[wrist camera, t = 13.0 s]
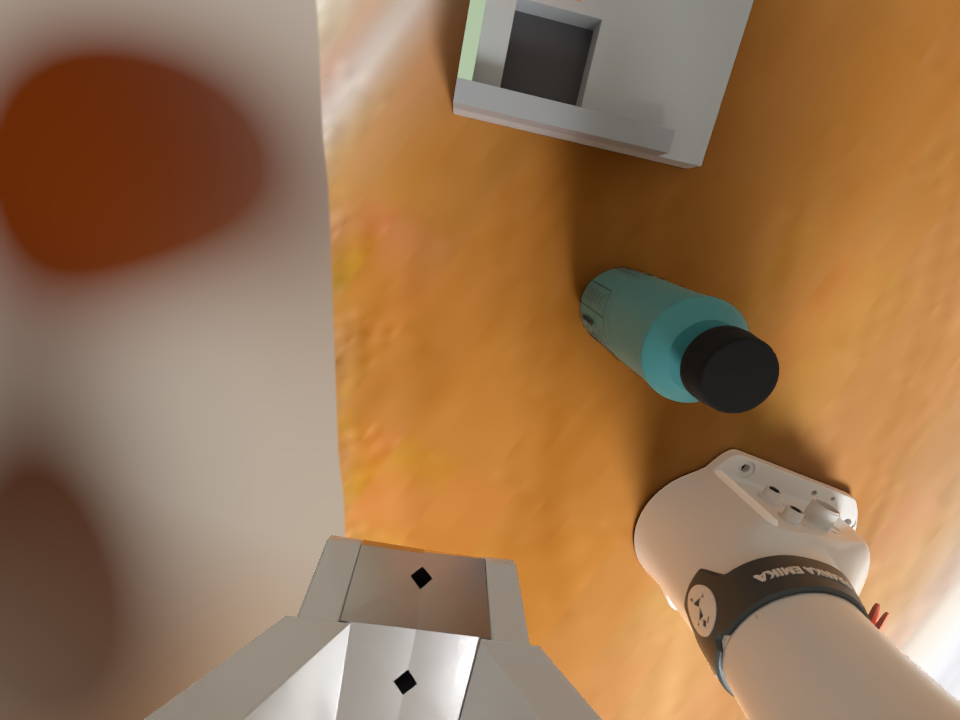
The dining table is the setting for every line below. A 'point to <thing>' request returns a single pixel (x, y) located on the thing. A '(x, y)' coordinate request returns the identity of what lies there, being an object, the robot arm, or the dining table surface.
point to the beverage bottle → (680, 340)
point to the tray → (603, 71)
